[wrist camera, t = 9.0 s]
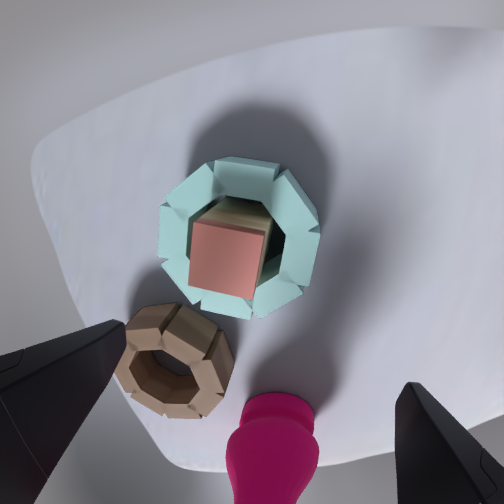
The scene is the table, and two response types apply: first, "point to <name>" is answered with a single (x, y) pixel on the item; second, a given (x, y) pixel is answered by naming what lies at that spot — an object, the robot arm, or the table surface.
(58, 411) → the robot arm
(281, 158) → the table surface
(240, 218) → the pink two-tone square block
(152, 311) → the brown segmented ring
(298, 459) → the pepper mill
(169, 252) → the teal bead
